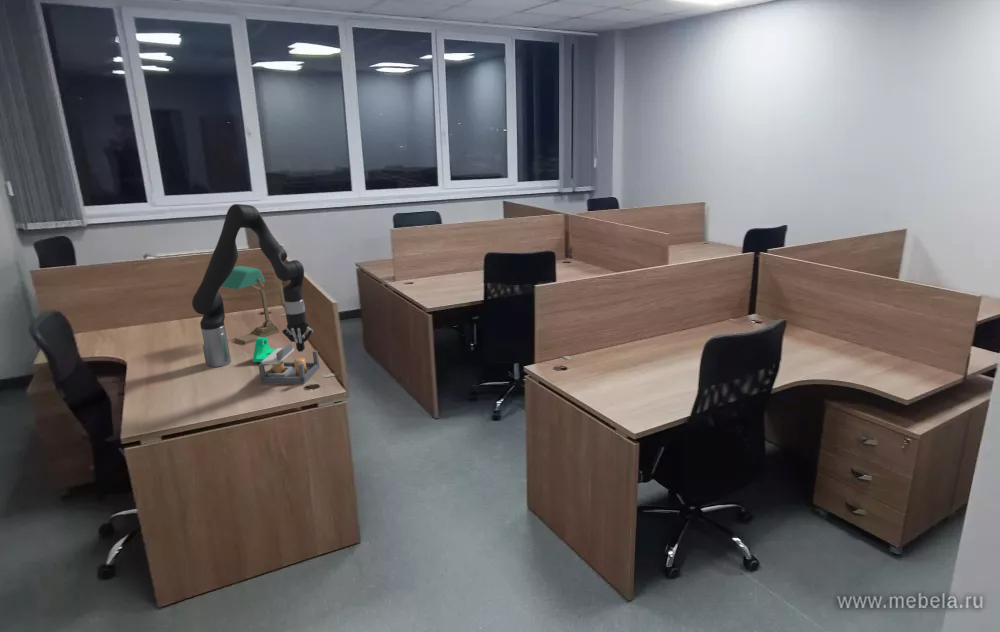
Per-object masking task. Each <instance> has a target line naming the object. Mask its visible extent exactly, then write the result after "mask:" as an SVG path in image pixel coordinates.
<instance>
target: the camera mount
mask: <svg viewBox="0 0 1000 632" xmlns="http://www.w3.org/2000/svg"><path fill="white" fill-rule="evenodd" d="M276 349H277V348H272V347H271V346H270V345H269V339H268V337H258V338H257V339H256V341H255V345H254V349H253V354H252V355H253V356H252V361H253V362H254V363H261V362H262V361H263V360H264V359H265V358H267V357H268V356H269V355H270V354H271V353H273V352H274V351H275V350H276Z"/></svg>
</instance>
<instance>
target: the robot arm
mask: <svg viewBox="0 0 1000 632" xmlns="http://www.w3.org/2000/svg"><path fill="white" fill-rule="evenodd" d="M243 228H244V229H250V230H252V231H253V232H254V233H255V234H256V236H257V239H258V244H259V248H260V250H261V252H262V253H263V254H264V255H265V257H266V258H267V259H268V261H269V262H270V263H271V266H272V269H273V271H274V273H275V276H276V277H277V278H278V279H279V280H280V281H282V282H287V281H290V282H289V283H287V285H285V286H284V287H283V289H282V291H283V293H282V294H283V298H284V311H285V318H286V322H287V324H286V328H284V329H282V331H281V332H282V333H283V335H284V336H285V337H286V338H287V339H288V340H289V341H290V343H292V342H293V343H295V345H296V346H295V347H296V350H297V351H298V352H299V353H300V352H301V353H302V352H303V351H304V350H305V349H306V347H305V342H307V341H309V339H310V337H311V336H312V335H313V333H314V332H315V329H314V328H311V327H309V324H308V322H307V321H308V320H307V313H306V305H305V301H304V296H303V286H304V276H305V269H304V266H303V264H302V262H300V261H299V260H296V259H295V260H290V261H286V260H287V258H288V253H287V252H286V250H285V249H284V248H283V246H282V245H281V244H280V243H279V242H278V241H277V239H276V238H275V237H274V234H272V232H271V230H270V228H269V227H268V226H267V223H266V222H265V220H264V219H263V216H262V214H261V213H260V211H259V210H258V209H257V208H256V207H255V206H253V205H251V204H239V203H234V204H232V205H230V207H229V208H228V210H227V212H226V215H225V218H224V222H223V226H222V229H221V233H220V235H219V238H218V241H217V243H216V246H215V248H214V250H213V252H212V255H211V257H210V261H209V263H208V266H207V268H206V270H205V273H204V276H203V278H202V280H201V282H200V285H199V287H198V289H197V290H196V292H195V293H194V296H193V297H192V299H191V301H192V302H191V304H192V308H193V311H195V313H197V314H199V315H202V318H201V320H200V321H199V322H200V323H199V325H200V330H201V336H202V339H203V344H202V350H203V351H202V352H203V355H204V361H205V365H206V366H208V367H211V368H218V367H223V366H227V365H229V364H230V363H231V362H232V359H231V353H230V348H229V341H228V336H227V330H226V327H225V319H226V315H225V307H224V301H223V298H222V295H221V293H220V292H219V290H220V288H221V287H222V286H221V285H222V284H223V283H224V282H225V280H226V279H227V278H228V277H229V275H230V274H231V272H232V270H233V268H234V267H236V263H237V261H238V258H239V253H238V247H237V242H236V240H237V236H238V232H239V231H240V230H241V229H243ZM285 261H286V262H285ZM305 334H306V335H305Z"/></svg>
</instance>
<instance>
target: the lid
mask: <svg viewBox="0 0 1000 632" xmlns="http://www.w3.org/2000/svg"><path fill="white" fill-rule="evenodd" d="M275 349H276V350H275V351H274V352H273V353H271V354H270V355H269V356H268V357H267V358H265V359H264V360H263V361H262V362H260V364H264V365H272V364H279V363H281V362H282V361H283V362H284V360H285V359H286V358H287V357H289V355H291V354H292V353H294V351H295V348H294V347H293V345H292V342H288V343H287V344H286V345H285V346H284V347H277V348H275Z"/></svg>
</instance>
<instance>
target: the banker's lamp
mask: <svg viewBox="0 0 1000 632" xmlns="http://www.w3.org/2000/svg"><path fill="white" fill-rule="evenodd" d="M265 282H266V281H265V278H264V274H263V272H262V271H261V269H259V268H255V267H251V266H244V265H238V266H234V268H233V270H232V272H231V274H230V275H229V277H228V278H227V279H226V280H225V282H224V283H223V284H222V285H221V287H224V288H228V289H233V290H238V289H240V290H241V289H244V288H247V287H249V288H252V289H255V290H258V292H259V293H260V295H261V302H262V308H263V312H264V314H263V315H264V319H265V321H263V322H262V325H261V326H257V327H256V328H254V329H253V330H252V331H251V332H250V333H248V334H245V335H242V336H240V337H233V338H234V342H237V343H238V344H239V343H240V344H244V345H247V344H250V343H253V342H256V339H257V338H258V337H266V338H268V337H270V336H273V335H274V334H275V335H276V334H278V333H280V328H278V326H277V325H276V324H274V322H273V321H272V320H271V319H270V314H269V308H268V302H267V301H268V300H267V296H266V292H265V290H264V288H265V284H264V283H265ZM258 284H260V286H261V287H260V286H258Z"/></svg>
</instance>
